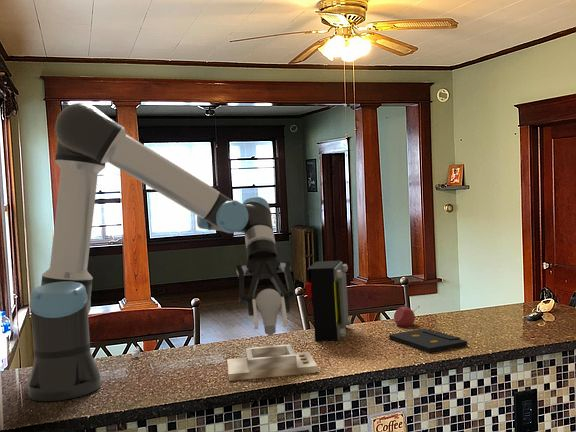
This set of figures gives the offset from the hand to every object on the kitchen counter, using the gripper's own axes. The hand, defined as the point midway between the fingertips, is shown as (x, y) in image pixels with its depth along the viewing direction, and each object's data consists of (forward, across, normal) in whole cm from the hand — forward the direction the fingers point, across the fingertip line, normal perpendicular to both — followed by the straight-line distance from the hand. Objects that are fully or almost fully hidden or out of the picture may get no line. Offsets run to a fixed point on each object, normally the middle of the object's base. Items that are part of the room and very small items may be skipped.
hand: (271, 324), depth 137 cm
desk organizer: (+5, 0, -10) cm, 12 cm away
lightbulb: (0, 0, -5) cm, 5 cm away
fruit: (-18, -44, -34) cm, 58 cm away
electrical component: (-16, -20, -32) cm, 40 cm away
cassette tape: (-2, -41, -19) cm, 45 cm away
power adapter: (-10, +35, -27) cm, 45 cm away
